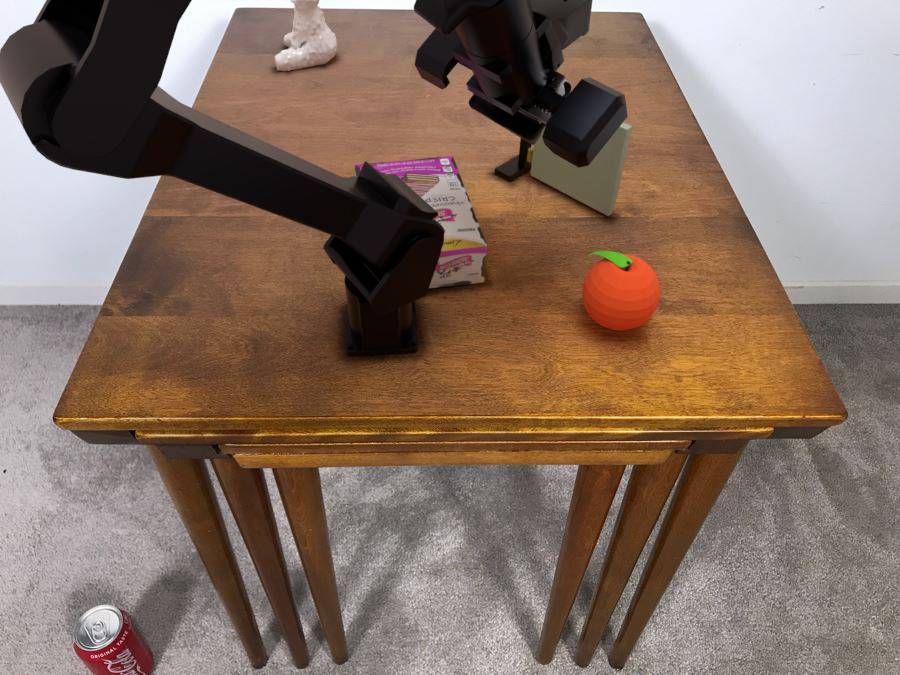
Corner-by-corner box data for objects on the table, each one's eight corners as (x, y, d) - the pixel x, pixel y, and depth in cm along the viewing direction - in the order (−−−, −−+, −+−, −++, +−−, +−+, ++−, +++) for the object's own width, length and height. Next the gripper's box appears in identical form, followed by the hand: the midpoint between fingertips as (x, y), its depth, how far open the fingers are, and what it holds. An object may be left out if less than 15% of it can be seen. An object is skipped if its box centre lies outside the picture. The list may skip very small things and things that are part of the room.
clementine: (553, 313, 68) (563, 254, 63) (597, 280, 71) (610, 222, 66) (622, 357, 64) (638, 299, 59) (665, 320, 67) (684, 262, 62)
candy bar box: (453, 151, 78) (490, 244, 67) (451, 190, 82) (487, 284, 71) (351, 161, 76) (372, 258, 65) (354, 200, 80) (374, 298, 69)
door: (608, 216, 78) (626, 129, 71) (530, 175, 84) (539, 90, 76) (615, 211, 79) (635, 124, 71) (537, 170, 84) (548, 86, 77)
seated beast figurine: (287, 43, 108) (274, -42, 99) (343, 45, 108) (336, -40, 99) (273, 72, 101) (259, -17, 93) (334, 74, 101) (325, -15, 93)
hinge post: (513, 184, 83) (523, 86, 74) (494, 174, 84) (501, 76, 76) (546, 165, 86) (559, 68, 77) (527, 155, 87) (537, 59, 79)
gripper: (669, -13, 49) (670, 116, 64) (469, -96, 57) (511, 36, 71) (570, 110, 49) (594, 212, 63) (382, 10, 56) (441, 121, 71)
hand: (533, 139), depth 67 cm, fingers closed
